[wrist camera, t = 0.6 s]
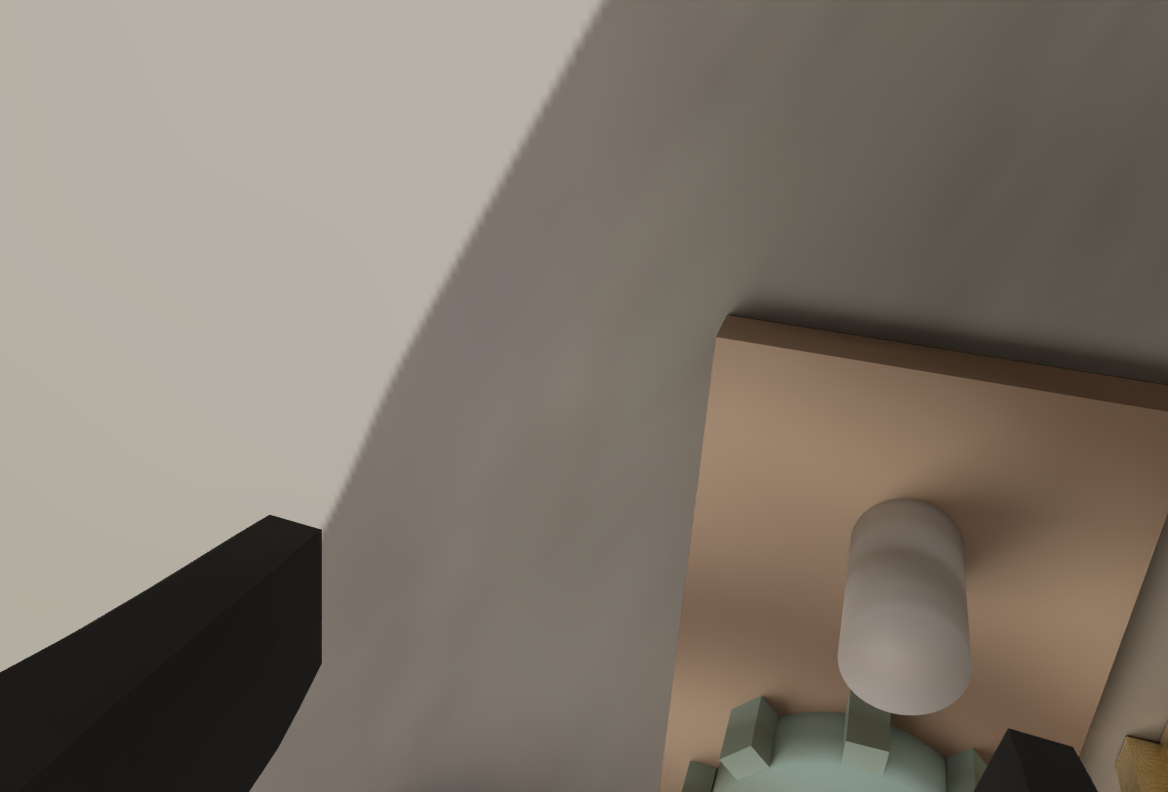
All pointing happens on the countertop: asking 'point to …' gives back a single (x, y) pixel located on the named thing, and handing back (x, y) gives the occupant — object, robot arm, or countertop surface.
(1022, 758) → the robot arm
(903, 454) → the gear board
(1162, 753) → the brass gear
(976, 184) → the countertop surface
